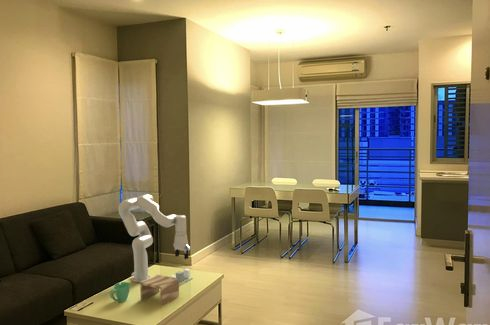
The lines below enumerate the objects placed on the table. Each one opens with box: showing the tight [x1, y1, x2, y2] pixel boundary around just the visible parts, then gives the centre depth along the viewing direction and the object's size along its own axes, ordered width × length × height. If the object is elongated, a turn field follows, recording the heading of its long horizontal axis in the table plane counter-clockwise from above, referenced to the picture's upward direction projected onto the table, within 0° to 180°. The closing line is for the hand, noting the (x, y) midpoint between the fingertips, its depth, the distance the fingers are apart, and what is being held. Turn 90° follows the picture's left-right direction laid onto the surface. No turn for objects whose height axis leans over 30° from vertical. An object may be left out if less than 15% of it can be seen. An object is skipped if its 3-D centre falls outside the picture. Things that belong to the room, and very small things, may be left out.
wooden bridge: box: [139, 274, 180, 306], centre depth 260 cm, size 18×16×12 cm
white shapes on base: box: [168, 268, 193, 287], centre depth 287 cm, size 7×20×8 cm, turn 151°
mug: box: [109, 281, 131, 302], centre depth 255 cm, size 15×10×10 cm
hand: (181, 257), depth 283 cm, fingers open, 9 cm apart
